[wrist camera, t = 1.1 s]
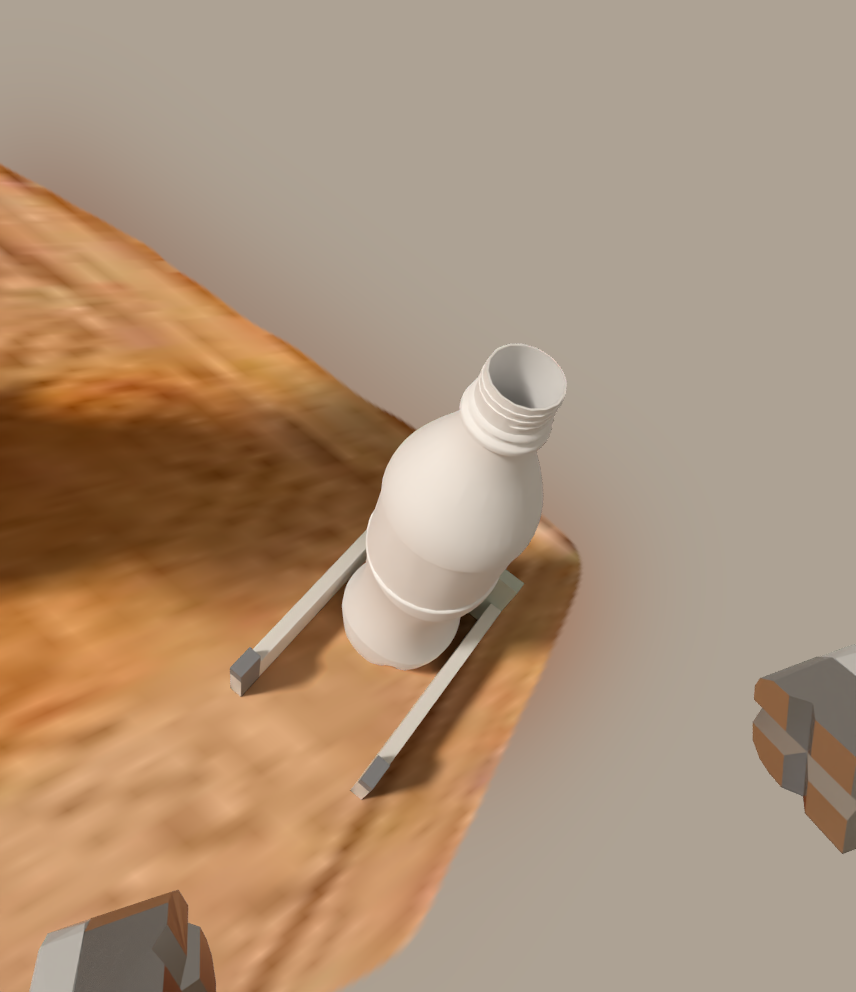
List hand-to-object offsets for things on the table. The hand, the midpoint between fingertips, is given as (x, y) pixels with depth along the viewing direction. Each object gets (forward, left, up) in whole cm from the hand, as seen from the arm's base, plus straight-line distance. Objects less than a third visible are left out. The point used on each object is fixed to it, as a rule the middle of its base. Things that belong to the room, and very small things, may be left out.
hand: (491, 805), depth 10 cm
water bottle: (-5, +14, -33) cm, 36 cm away
